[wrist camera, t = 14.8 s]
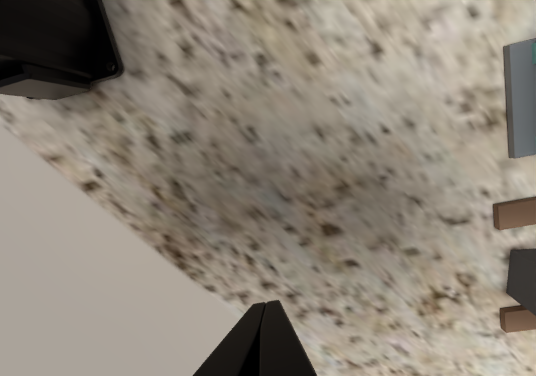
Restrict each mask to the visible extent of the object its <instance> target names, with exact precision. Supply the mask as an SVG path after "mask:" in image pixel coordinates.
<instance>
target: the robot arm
mask: <svg viewBox="0 0 536 376" xmlns="http://www.w3.org/2000/svg"><path fill="white" fill-rule="evenodd" d="M112 64H114V67H115V68H114V70H113V71H112V70H111V65H112ZM122 71H123V67H122V63H121V60H120V57H119V54H118V51H117V48H116V45H115V41H114V38H113V35H112V32H111V29H110V26H109V23H108V20H107V17H106V13H105V10H104V7H103V4H102V1H101V0H0V94H5V95H14V96H23V97H27V98H29V99H50V100H57V99H60V98H64V97H67V96H71V95H74V94H78V93H81V92H85V91H88V90H90V88H91V87H92V84H94V83H97V82H101V81H104V80H108V79H111V78H115V77H118V76H120V75H121V73H122ZM193 376H317V374H316V372H315V370H314V368H313V366H312V364H311V362H310V360H309V358H308V356H307V354H306V352H305V350H304V348H303V346H302V344H301V342H300V340H299V338H298V336H297V334H296V332H295V330H294V328H293V326H292V324H291V322H290V321H289V319H288V317H287V315H286V313H285V311H284V309H283V307H282V305H281V303H280V301H279V300H275V301H269V302H267V303H265V302H262V303H256V304H253V305H252V306H251V307H250V308H249V309H248V311H247V312H246V313H245V314H244V315H243V317H242V318H241V319H240V320H239V321H238V323H237V324H236V325H235V326H234V327H233V328H232V330H231V331H230V332H229V333H228V334H227V336H226V337H225V338H224V339H223V340H222V341H221V343H220V344H219V345H218V346H217V348H216V349H215V350H214V351H213V352H212V353H211V354H210V356H209V357H208V358H207V359H206V360H205V362H204V363H203V364H202V365H201V367H200V368H199V369H198V370H197V371H196V372H195V374H194V375H193Z"/></svg>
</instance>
